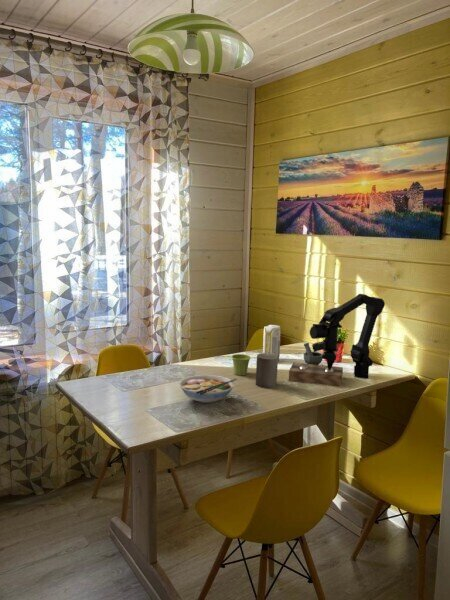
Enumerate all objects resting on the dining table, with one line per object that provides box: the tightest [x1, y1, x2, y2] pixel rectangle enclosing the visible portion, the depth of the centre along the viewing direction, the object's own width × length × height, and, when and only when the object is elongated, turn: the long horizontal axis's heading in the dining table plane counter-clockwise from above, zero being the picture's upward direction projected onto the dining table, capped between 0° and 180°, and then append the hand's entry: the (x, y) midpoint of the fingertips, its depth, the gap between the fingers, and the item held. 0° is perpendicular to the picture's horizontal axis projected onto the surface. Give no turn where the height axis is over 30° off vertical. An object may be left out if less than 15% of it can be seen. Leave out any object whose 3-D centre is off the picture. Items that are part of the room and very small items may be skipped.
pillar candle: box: [255, 352, 279, 389], centre depth 230 cm, size 10×10×15 cm
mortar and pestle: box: [303, 342, 323, 365], centre depth 261 cm, size 11×9×12 cm
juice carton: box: [262, 324, 282, 361], centre depth 269 cm, size 8×9×19 cm
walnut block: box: [288, 362, 344, 387], centre depth 241 cm, size 24×14×5 cm, turn 75°
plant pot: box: [231, 353, 252, 377], centre depth 246 cm, size 9×9×9 cm
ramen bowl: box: [178, 374, 238, 404], centre depth 209 cm, size 25×23×8 cm
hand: (329, 369), depth 239 cm, fingers closed, pressing on peg near
